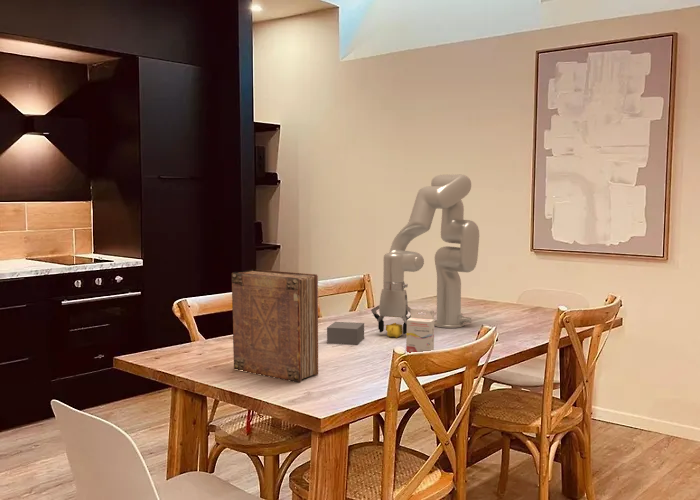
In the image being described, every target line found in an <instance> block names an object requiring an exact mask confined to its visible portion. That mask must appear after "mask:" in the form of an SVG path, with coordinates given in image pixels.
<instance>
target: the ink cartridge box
mask: <svg viewBox="0 0 700 500" xmlns="http://www.w3.org/2000/svg"><path fill="white" fill-rule="evenodd" d="M409 313H410V315H411V317H410V316H409V317H410V318H409V317H408V318H409V319H408V320H407V333H406V334H405V335H406V338H405V339H406V344H405V348H406V349H405V351H407V352H409V353H411V352H423V351H431V350H435V326H434V321H435V317H434V316H435V315H434V314H435V311H434V310H433V309H421V308H411V310H410V312H409ZM420 313H423V314H420Z"/></svg>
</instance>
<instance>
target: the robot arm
mask: <svg viewBox="0 0 700 500" xmlns="http://www.w3.org/2000/svg"><path fill="white" fill-rule="evenodd" d="M471 190H472V181H471V179H470V178H469V176H467V175H465V174H439V175H435V176H434V177H433V178H432V179H431V184H430V186H423V187H420V188H419V190H418V192H417V194H416V196H415V199H414V203H413V207H412V209H411V213H410V216H409V219H408V222H407V224H405V226H404V227H403V228H402V229H401V230H400V231H399V232H398V233H397V234H396V235H395V237H394V239H393V241H392V243H391V246H390V248H389V252H386V253H384V255H383V277H382V278H383V282H382V284H383V288H382V289H381V292H380V297H379V304H378V305H377V306H375V307H374V308H372V309H371V310H370V311H371V313H372V315H373V317H374V318H375V319H376V321H377V322H378V325H377V326H378V327H377V328H378V330H379V333H382V332H384V330H385V324H384V323H385V321H384V318H385V317H386V318H387V317H388V318H401V319H402V321H403V323H402V335H406V334H407V320H408V319H409V318H410V317H411V314H410V316H408V315H409V314H408V313H410V310H411V309H412V308H411V307H409V304H408V303H409V301H408V300H409V299H408V295H407V289H405V288H408V283H406V282H405V280H404V279H405V272H409V273H410V272H413V273H415V272H418V271H421V269H422V268H423V267H424V264H425V260H424V257H423V255H422V254H420V253H419V252H417V251H412V250H411V251H410V250H407V247H408V245H409V244H410V243H411V241H413V240H414V239H415V238H417V237H419V236H422V235H423V234H425V233H427V232H429V230H430V229H431V226H432V223H433V219H434V216H435V213H436V210H437V209H438V210H441V221H440V222H441V223H440V238H441V240H442V241H443V242H445V243H449V244H457V245H460V247H458V246H448V245H447V246H442V247H439V248H438V249H437V250H436V252H435V254H434V266H435V270H436V319H434V327H437V328H441V329H442V328H443V329H445V328H446V329H457V328H462V327H464V326H465V323H472V317H469V316H463V313H462V312H461V311H462V309H461V308H462V280H461V276H460V273H470V272H472V271H474V270H475V269H476V266H477V263H478V257H479V245H480V244H479V243H480V229H479V226H478V224H477V223H476V222H475V221H473V220H472V219H471V220H470V219H464V218H465V217H464V214H465V213H464V211H465V209H464V207H465V206H464V203H463V201H462V200H463V199H464V198H466V197H467V196H468V195H469V193H470V192H471ZM459 272H460V273H459ZM377 311H378V312H379V314H378V312H377Z"/></svg>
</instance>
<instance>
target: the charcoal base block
mask: <svg viewBox="0 0 700 500" xmlns="http://www.w3.org/2000/svg"><path fill="white" fill-rule="evenodd" d="M364 339H365V322H350V321H348V322H347V321H334V322H332V323H330V325H329V326H328V327H326V343H327V344H328V345H329V344H330V345H331V344H332V345H348V346H358V345H359V344H360V343H361V342H362V341H363V340H364Z"/></svg>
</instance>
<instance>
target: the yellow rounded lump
mask: <svg viewBox="0 0 700 500" xmlns="http://www.w3.org/2000/svg"><path fill="white" fill-rule="evenodd" d="M385 331H386V335H387V337H388V338H392V337H394V338H395V339H398V338H399V337H401V336H403V323H396V322H393V323H390V324H386V325H385Z"/></svg>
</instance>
